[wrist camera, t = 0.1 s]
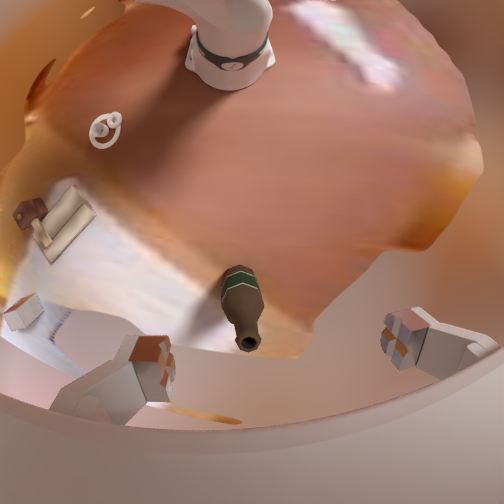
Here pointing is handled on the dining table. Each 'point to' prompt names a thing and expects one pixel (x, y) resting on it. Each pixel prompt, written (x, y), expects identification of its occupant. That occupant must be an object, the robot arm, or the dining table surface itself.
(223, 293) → the beer bottle
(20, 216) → the block
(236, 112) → the dining table surface
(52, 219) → the ash board
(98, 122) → the white curved piece
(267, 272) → the dining table surface
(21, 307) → the small box
